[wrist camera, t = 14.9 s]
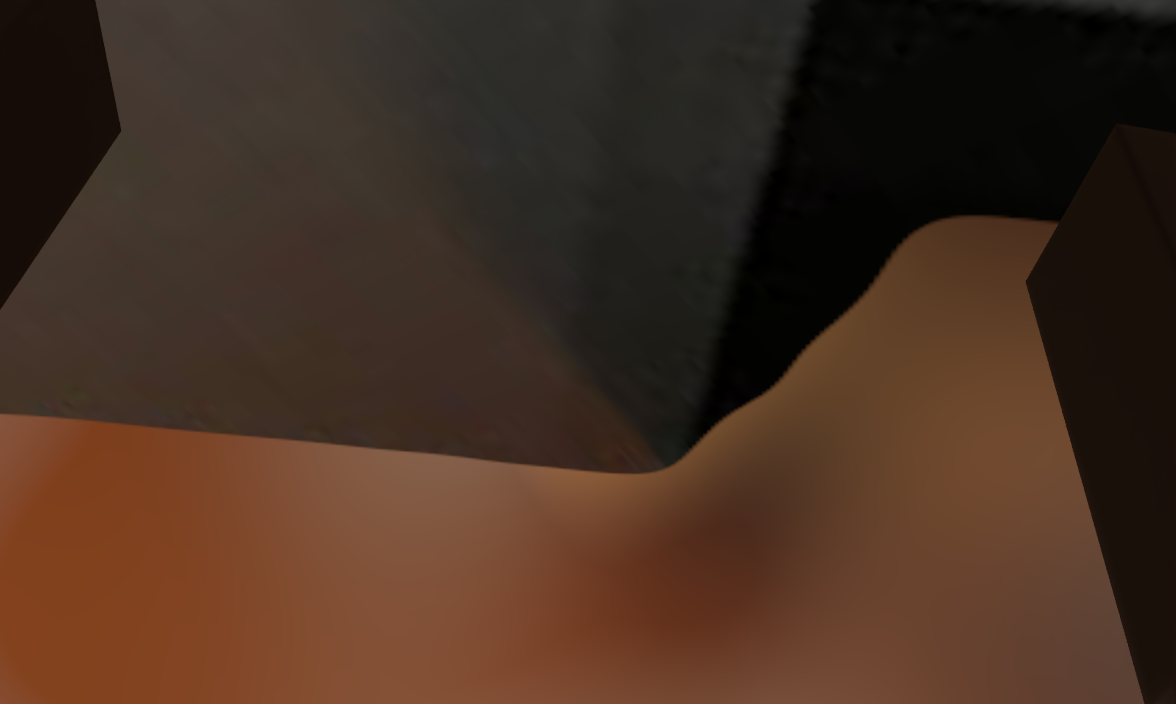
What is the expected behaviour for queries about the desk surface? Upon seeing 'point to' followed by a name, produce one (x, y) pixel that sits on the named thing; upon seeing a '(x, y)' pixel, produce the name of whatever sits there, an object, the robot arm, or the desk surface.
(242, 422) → the desk surface
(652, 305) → the desk surface
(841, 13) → the desk surface
